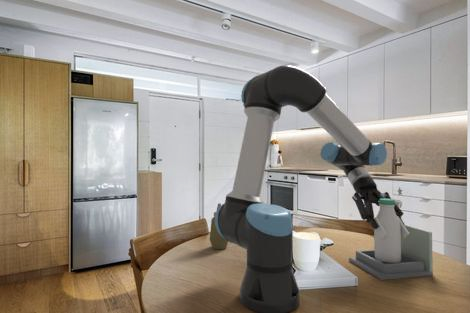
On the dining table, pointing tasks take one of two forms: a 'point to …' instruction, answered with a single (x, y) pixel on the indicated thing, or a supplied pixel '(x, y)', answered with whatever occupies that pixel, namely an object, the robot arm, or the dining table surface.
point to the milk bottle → (388, 234)
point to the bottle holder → (412, 258)
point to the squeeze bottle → (216, 235)
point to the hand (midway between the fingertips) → (395, 236)
